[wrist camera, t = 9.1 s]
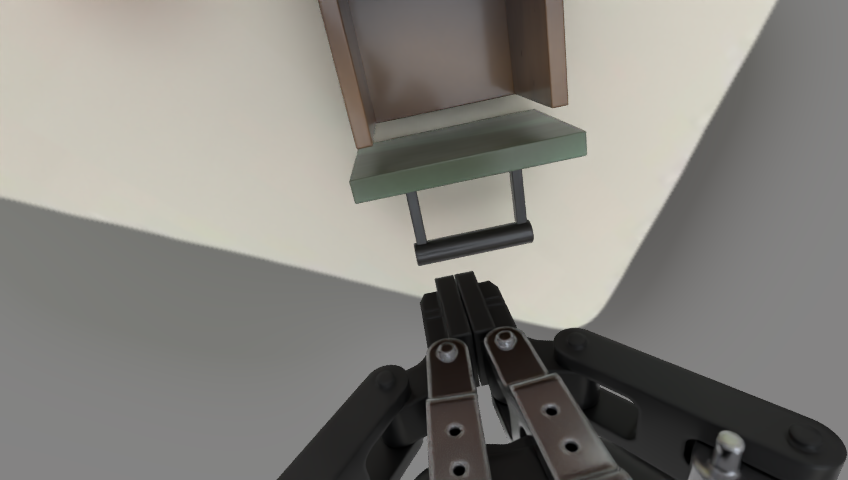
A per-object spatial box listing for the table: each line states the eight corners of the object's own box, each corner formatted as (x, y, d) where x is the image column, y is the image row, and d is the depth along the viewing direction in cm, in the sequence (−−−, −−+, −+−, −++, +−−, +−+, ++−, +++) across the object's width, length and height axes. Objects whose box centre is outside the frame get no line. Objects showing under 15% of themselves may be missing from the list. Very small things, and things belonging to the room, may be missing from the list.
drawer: (543, 209, 30) (590, 259, 23) (383, 242, 30) (382, 302, 23) (515, -135, 22) (575, -219, 15) (298, -88, 22) (257, -150, 15)
